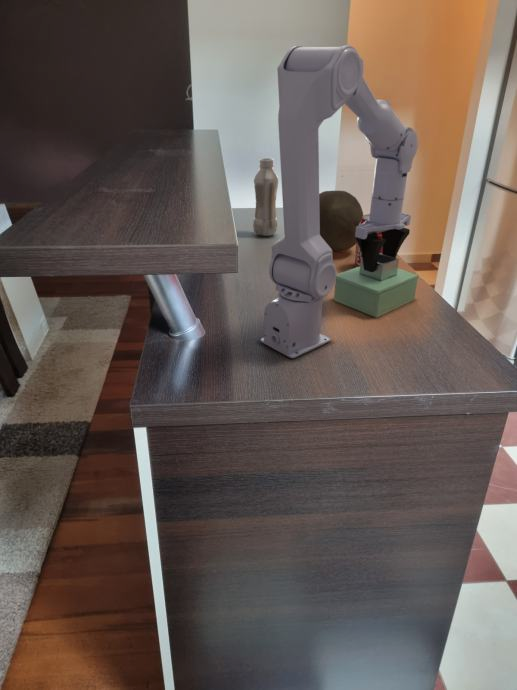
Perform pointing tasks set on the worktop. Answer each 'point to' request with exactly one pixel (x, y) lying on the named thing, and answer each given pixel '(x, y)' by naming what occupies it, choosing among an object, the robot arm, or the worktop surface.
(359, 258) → the soda can
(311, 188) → the robot arm
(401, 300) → the box
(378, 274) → the small grey square box
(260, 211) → the plastic bottle
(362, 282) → the lunchbox lid
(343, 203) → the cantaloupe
